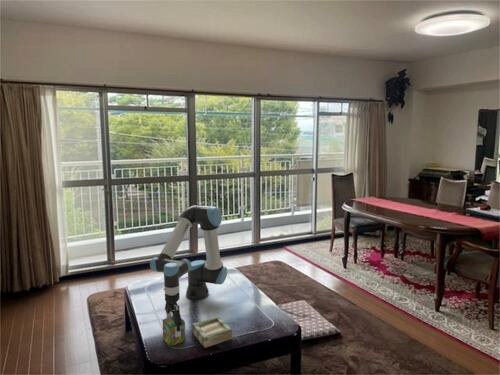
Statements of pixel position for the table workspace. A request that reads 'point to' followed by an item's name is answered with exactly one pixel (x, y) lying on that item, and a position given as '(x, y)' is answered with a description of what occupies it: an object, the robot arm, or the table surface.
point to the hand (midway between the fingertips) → (173, 330)
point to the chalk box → (172, 331)
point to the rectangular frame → (212, 331)
